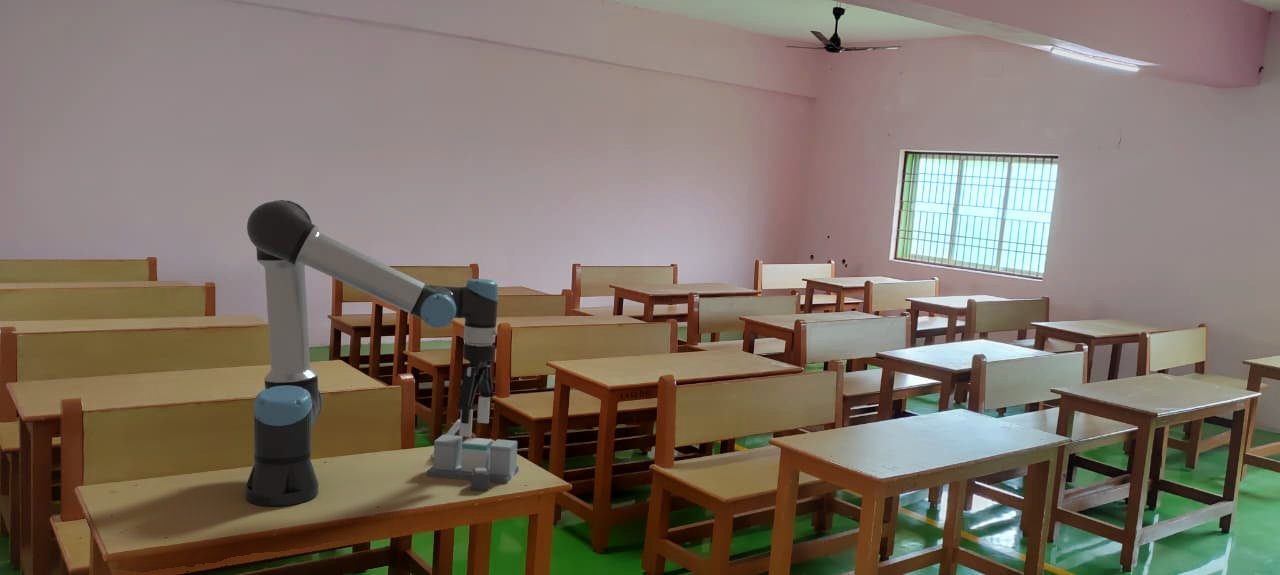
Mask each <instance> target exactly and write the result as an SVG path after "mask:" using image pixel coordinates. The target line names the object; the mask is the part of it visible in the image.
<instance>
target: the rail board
mask: <svg viewBox="0 0 1280 575" xmlns="http://www.w3.org/2000/svg"><path fill="white" fill-rule="evenodd" d="M463 438H464V436H459V435H456V434H454V435H446V434H441V435H440V436H439V437H438V438H437V439H435V440H434V442H433V445H434V447H433V449H434V450H433V452H434V458H433V465H432V466H431V467H430V468H428V469H427V470H426V477H435V478H436V477H438V478H446V479H447V478H448V479H457V480H465V481H466V480H467V481H468V480H469V481H471V474H472V472H469V471H461V467H462V442H464V440H463ZM517 453H518V441H517V440H510V439H509V440H508V439H499V438H498V439H496V440H495V441H494V442H492V445H491V446H490V480H489V483H499V484H500V483H501V484H508V483H509V482H510V481H511V480H512V478H513V477H514V476H515V475H516V474H517V473H518V472H519V466H518V465H517V460H518V459H517V457H518V454H517Z"/></svg>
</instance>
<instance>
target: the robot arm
mask: <svg viewBox="0 0 1280 575" xmlns="http://www.w3.org/2000/svg"><path fill="white" fill-rule="evenodd" d="M246 230H247V232H246V233H247V235H248V239H249V240H250V242H251V243H252V244H253V246H255V249H256V261H257V262H258V263H259V264H260V265H262V266H263V268H264V275H265V276H264V278H265V291H266V292H265V294H266V308H267V311H266V312H267V323H268V324H267V325H268V327H267V328H268V340H269V341H268V342H269V358H270V359H269V361H270V371H269V372H268V373H267V374H266V375H265V377H264V389H263V390H261V391H259V392H258V393H257V394H256V396H255V399H254V405H253V416H254V419H253V420H254V421H253V423H254V425H253V426H254V427H253V428H254V429H253V432H254V433H253V449H254V450H253V451H254V452H253V453H254V454H253V456H254V457H253V465H252V468H251V470H250V474H249V476H248V479H247V482H246V484H245V490H244V493H245V496H244V498H245V500H246V501H247V502H249V503H251V504H253V505H257V506H258V505H259V506H265V507H281V506H282V507H283V506H290V505H296V504H301V503H306V502H308V501H310V500H312V499H314V498H316V496H318V495H319V481H318V478H317V475H316V472H315V468H314V466H313V463H312V461H311V450H312V449H311V448H312V447H311V445H312V444H311V441H312V438H311V436H312V434H311V433H312V426H314V423H315V422H316V421H317V419H318V418H319V416H320V414H321V411H322V407H323V399H322V394H321V392H320V389H319V380H318V379H319V378H318V372H317V371H315V370H314V369H313V368H312V367H311V360H310V356H311V355H310V340H309V339H310V338H309V322H308V306H307V304H308V303H307V287H306V268H305V266H307V267H310V268H312V269H314V270H316V271H318V272H320V273H323V274H325V275H327V276H329V277H332V278H333V279H335V280H338V281H340V282H342V283H344V284H346V285H348V286H350V287H352V288H354V289H357V290H359V291H361V292H363V293H365V294H368V295H370V296H371V297H373V298H376V299H379V300H380V301H383V302H384V303H387V304H389V305H392V307H396V308H397V309H400V310H402V311H404V312H406V313H408V314H409V315H412V316H414V317H416V318H418V319H420V320H421V321H423V322H424V323H426V325H427V326H429V327H431V328H435V329H440V328H445V327H447V326H449V325H450V324H451V323H452V322H453V320H454V319H464V330H463V342H464V344H463V345H462V346H463V347H462V348H463V349H462V358H463V359H464V360H466V361H469V365H468V366H465V367H464V368H463V370H464V371H463V378H462V381H461V382H462V383H461V388H460V391H459V392H460V394H459V398H458V402H457V404H456V408H457V410H460V417H459V419H460V428H459V432H458V433H459V435H458V436H463V437H466V438H467V437H468V438H469V437H471V438H472V430H473V413H474V411H473V410H474V409H472V407H473V404H474V401H475V398H476V397H475V396H476V393H477V390H479V394H480V396H479V397H478V404H477V420H476V423H479V424H480V423H482V424H489V423H490V407H491V406H490V404H491V398H494V395H495V392H494V382H493V372H492V361H493V360H494V359H495V351H496V346H495V345H494V343H495V342H496V336H497V335H498V334H499V332H498V330H497V331H496V329H497V317H498V316H497V314H498V304H499V302H498V301H499V294H498V293H499V291H498V290H499V286H498V283H497V282H496V281H494V280H493V279H485V278H471V279H468V280H467V281H466V284H465V286H460V287H459V286H444V285H432V284H429V285H428V284H426V283H425V282H422V281H421V280H419V279H416V278H414V277H412V276H410V275H408V274H405V273H404V272H402V271H400V270H397V269H395V268H393V267H391V266H389V265H387V264H385V263H382V262H381V261H379V260H377V259H375V258H373V257H370V256H369V255H366V254H364V253H362V252H360V251H359V250H356V249H354V248H351V247H349V246H348V245H345V244H344V243H342V242H340V241H338V240H335V239H334V238H331V237H329V236H327V235H325V234H324V233H321V232H320V229H319V227H318V226H317V225H315V224H314V223H312V218H311V216H310V214H309V213H308V211H307V210H306V209H305V208H304V207H302V206H301V205H300V204H298V203H297V202H294V201H291V200H285V199H280V200H274V201H268V202H265V203H263V204H260V205H259V206H257V207H255V209H253V211H251V213H250V214H249V217H248V219H247V224H246Z"/></svg>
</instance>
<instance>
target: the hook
mask: <svg viewBox="0 0 1280 575" xmlns="http://www.w3.org/2000/svg"><path fill="white" fill-rule="evenodd" d="M458 431H460V418H459V419H457V420H456V421H455V423H454V424H453V425H452V426H451V427H450V429H449V430H448V431H447V432H446V433H445V435H456V433H457V432H458ZM431 454H432V455H431V457H432V458H433V459H434V451H433V452H432V453H431Z"/></svg>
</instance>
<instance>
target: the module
mask: <svg viewBox="0 0 1280 575" xmlns="http://www.w3.org/2000/svg"><path fill="white" fill-rule="evenodd" d="M492 444H493V439H491V438H479V437H472V436H471V437H468V438H467V437H466V439H465V440H463V441H462V467H461V471H469V472H472V470H473V469H476V468H486V469H490V446H491V445H492Z"/></svg>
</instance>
